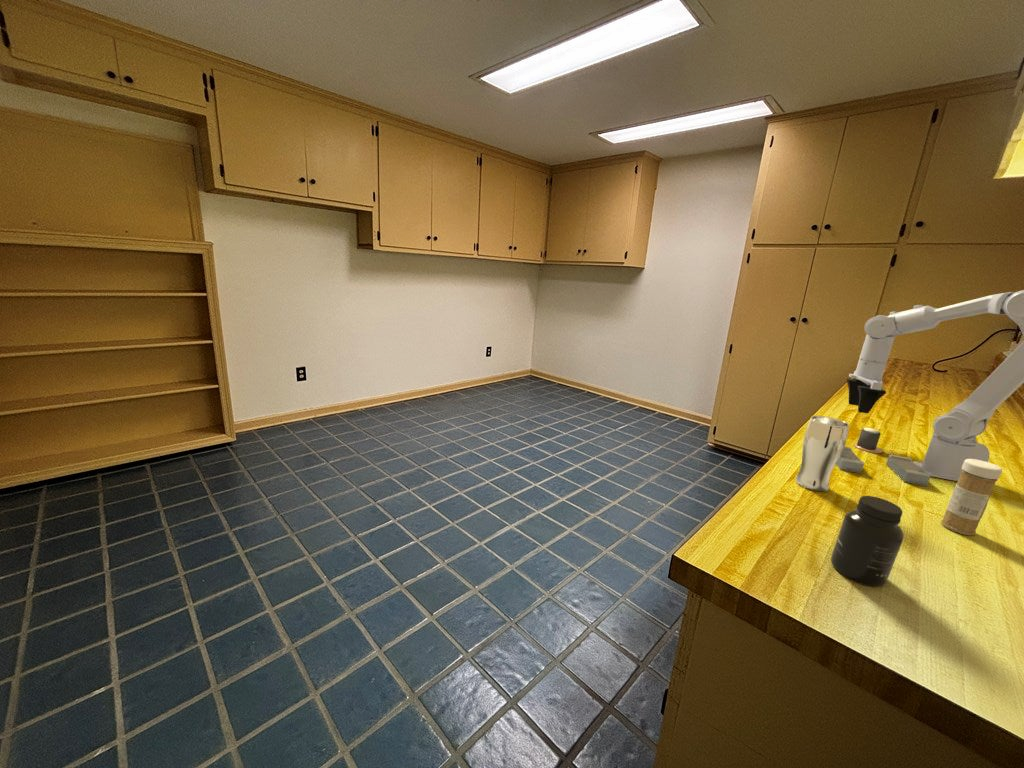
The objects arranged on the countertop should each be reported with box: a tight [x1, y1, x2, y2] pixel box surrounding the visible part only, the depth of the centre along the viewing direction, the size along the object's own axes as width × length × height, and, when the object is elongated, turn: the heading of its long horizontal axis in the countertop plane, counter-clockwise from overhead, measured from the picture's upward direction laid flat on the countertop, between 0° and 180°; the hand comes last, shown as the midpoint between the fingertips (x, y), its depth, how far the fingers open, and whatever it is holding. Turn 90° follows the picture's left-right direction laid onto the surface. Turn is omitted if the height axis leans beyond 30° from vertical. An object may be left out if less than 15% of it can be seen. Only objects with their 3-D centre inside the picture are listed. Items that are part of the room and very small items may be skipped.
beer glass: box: [794, 415, 850, 493], centre depth 88 cm, size 7×7×15 cm
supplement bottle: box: [830, 495, 905, 587], centre depth 61 cm, size 7×7×12 cm
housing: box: [835, 446, 932, 488], centre depth 99 cm, size 16×10×3 cm, turn 67°
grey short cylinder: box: [856, 427, 881, 450], centre depth 111 cm, size 4×4×5 cm
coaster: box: [853, 442, 883, 454], centre depth 112 cm, size 6×6×1 cm
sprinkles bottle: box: [940, 459, 1003, 536], centre depth 74 cm, size 5×5×14 cm
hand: (858, 408), depth 113 cm, fingers open, 7 cm apart
